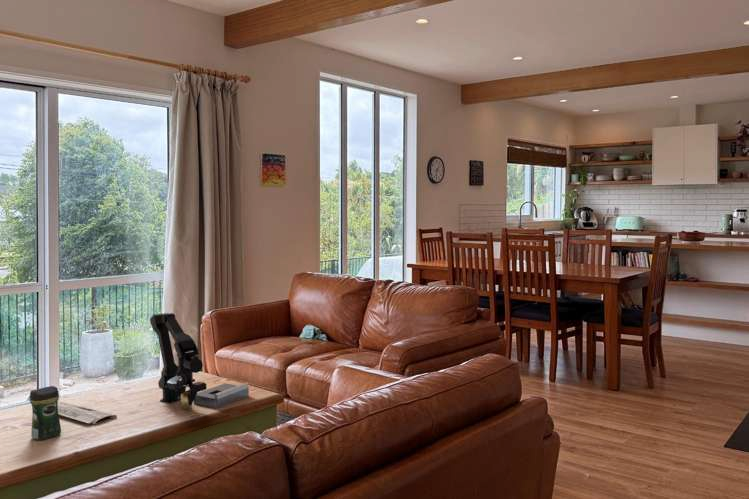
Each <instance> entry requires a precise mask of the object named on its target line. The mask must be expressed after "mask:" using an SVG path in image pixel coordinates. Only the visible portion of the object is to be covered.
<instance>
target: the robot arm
mask: <svg viewBox="0 0 749 499" xmlns="http://www.w3.org/2000/svg"><path fill="white" fill-rule="evenodd" d="M149 323H150V325H151V327H152V330H153V331H154V332H155V333H156V334H157V337H158V343H159V348H160V353H161V359H162V365H163V367H162V370H161V373H160V375H161V376H160V378H159V381H158V389H162V398H161V399H159V401H160V402H163V403H167V404H168V403H169V404H172V403H174V402H177V401H180V403H181V393H182V392H185V391H186V392H187V393H188V399H189V405H193V404H194V399H195V396H196V394H197V393H199V392H202V391H205V390H207V389H208V388H207V383H206V382H203V381H196V379H195V378H193V377H194V375H193V374H197V373H199V372H201V371H202V369H203V366H204V364H203V361H202V360H201V359H199V349H198V347H197V344H196V341H195V340H194V339H193V338H192V336H190V335H189V334H187V333H186V332H185V331H184V330H183V328H182V327H181V325H180V323H179V322H178V320H177V318H176V314H175V313H172V312H171V313H168V312H165V313H157V314H156V313H155V314H152V316H151V317H150V318H149ZM170 335H171V337H172V338H173V340H174V346H173V345H172V342H171V341H172V340H171V337H170ZM172 346H173V347H174V350H175V352H176V353H177V354H176V357H177V361H178V362H177V364H178V365H177V364H176V363H175V357H174V352H173V347H172ZM187 388H188V390H187Z"/></svg>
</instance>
